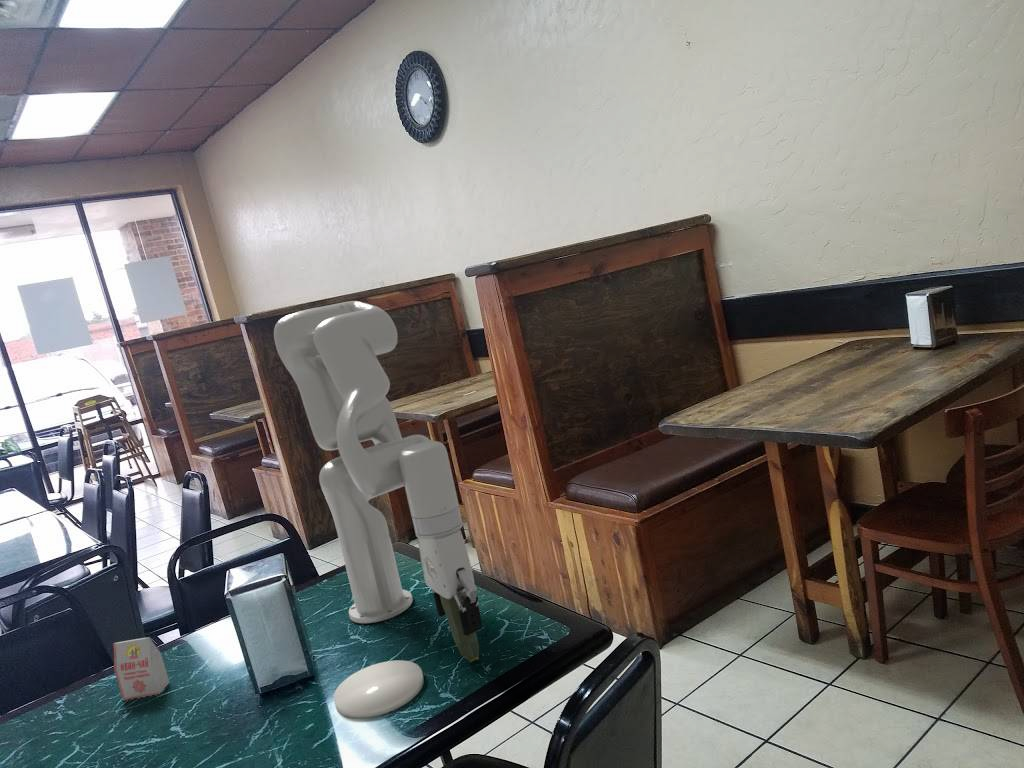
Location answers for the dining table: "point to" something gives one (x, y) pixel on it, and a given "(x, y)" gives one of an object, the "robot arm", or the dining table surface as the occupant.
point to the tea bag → (139, 668)
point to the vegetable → (460, 629)
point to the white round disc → (378, 689)
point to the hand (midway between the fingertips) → (460, 621)
